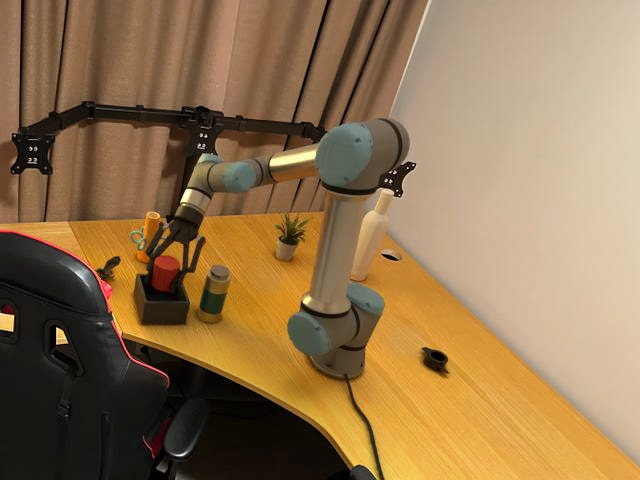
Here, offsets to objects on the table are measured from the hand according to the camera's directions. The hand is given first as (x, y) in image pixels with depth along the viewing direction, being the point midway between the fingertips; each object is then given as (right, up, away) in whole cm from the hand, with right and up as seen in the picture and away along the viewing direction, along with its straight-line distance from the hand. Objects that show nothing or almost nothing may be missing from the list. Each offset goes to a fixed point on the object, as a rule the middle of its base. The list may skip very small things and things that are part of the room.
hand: (158, 288), depth 170 cm
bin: (0, -5, +9) cm, 10 cm away
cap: (+1, +1, +3) cm, 4 cm away
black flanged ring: (+78, -21, +9) cm, 81 cm away
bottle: (+64, +9, +39) cm, 76 cm away
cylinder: (-4, +12, +28) cm, 31 cm away
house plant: (+40, +15, +41) cm, 59 cm away
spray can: (+14, -7, +10) cm, 19 cm away
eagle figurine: (-15, +5, +16) cm, 23 cm away
